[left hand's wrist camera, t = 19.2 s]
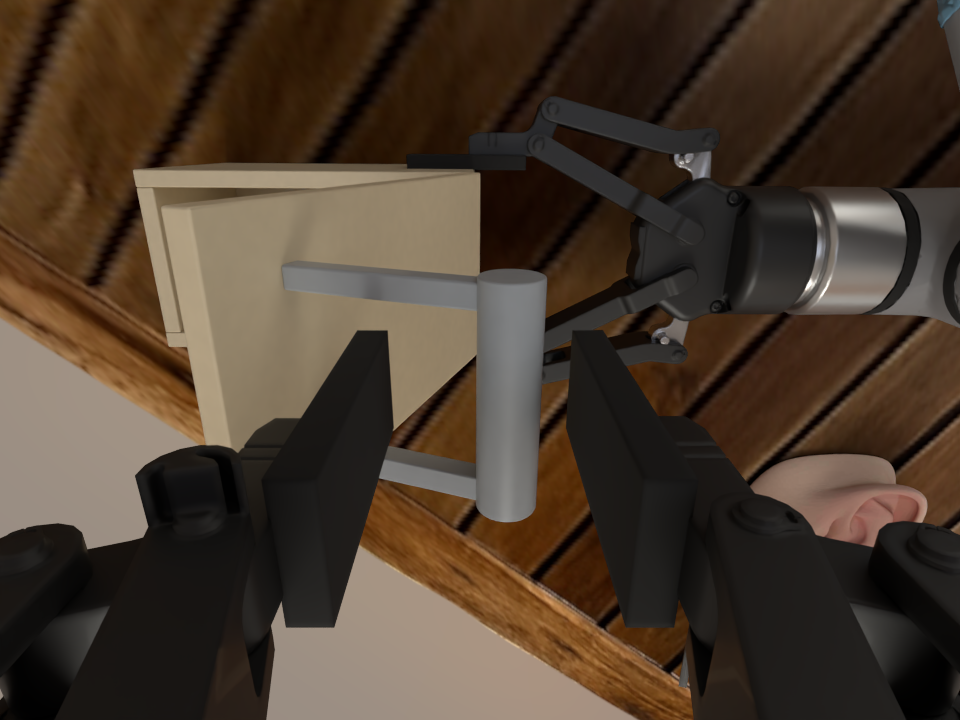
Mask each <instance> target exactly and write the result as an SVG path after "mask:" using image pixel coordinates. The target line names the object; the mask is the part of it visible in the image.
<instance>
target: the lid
mask: <svg viewBox="0 0 960 720" xmlns="http://www.w3.org/2000/svg"><path fill="white" fill-rule="evenodd" d="M161 212H162V217H163V223H164V228H165V233H166V238H167V243H168V249H169V254H170V259H171V264H172V270H173V275H174V280H175V285H176V290H177V296H178V301H179V306H180V311H181V317H182V322H183V327H184V332H185V337H186V343H187V348H188V353H189V358H190V364H191V369H192V374H193V379H194V384H195V390H196V395H197V400H198V405H199V411H200V416H201V421H202V426H203V431H204V437H205V442H206V445H220V446H224V447H229V448H232V449H233V450H235V451H236V452H237V453H239V451H240V450H241V449H242V448H244V445H245V443H246V442H247V441H248V440H249V438H250V437H251V436H252V434H253V433H254V432H255V431H256V430H257V429H259V428H260V427H262V426H264V425H265V424H267V423H268V422H270V421H272V420H273V419H275V418H301V417H302V415H303V414H304V412H305V411H306V409H307V408H308V406H309V405H310V403H311V401H312V400H313V398H314V397H315V395H316V394H317V392H318V391H319V389H320V387H321V386H322V384H323V383H324V381H325V380H326V378H327V377H328V375H329V373H330V372H331V370H332V369H333V367H334V366H335V364H336V363H337V361H338V359H339V358H340V356H341V355H342V353H343V352H344V350H345V349H346V347H347V345H348V344H349V342H350V341H351V339H352V338H353V336H354V335H355V333H356V331H357V330H388V343H389V359H390V374H391V390H392V406H393V421H394V429H393V431H394V430H395V429H396V428H397V427H398V426H399V425H400V424H401V423H402V422H403V421H405V420H406V419H407V418H408V417H409V416H410V415H411V414H412V413H413V412H414V411H415V410H417V409H418V408H419V407H420V406H421V405H422V404H423V403H424V402H425V401H426V400H427V399H429V398H430V397H431V396H432V395H433V394H434V393H435V392H436V391H437V390H438V389H439V388H441V387H442V386H443V385H444V384H445V383H446V382H447V381H448V380H449V379H450V378H451V377H453V376H454V375H455V374H456V373H457V372H458V371H459V370H460V369H461V368H462V367H463V366H465V365H466V364H467V363H468V362H469V361H470V360H471V359H472V358H473V357H474V356H475V355H477V385H476V464H473V463H469V462H464V461H459V460H454V459H449V458H444V457H439V456H434V455H430V454H425V453H420V452H415V451H410V450H405V449H400V448H395V447H390V446H388V449H387V452H386V456H385V459H384V462H383V466H382V469H381V472H380V476H379V478H382V479H386V480H390V481H395V482H399V483H404V484H408V485H412V486H417V487H421V488H426V489H430V490H434V491H439V492H443V493H448V494H452V495H456V496H461V497H465V498H470V499H474V500H476V506H477V508H478V510H479V511H480V512H481V513H482V514H483V515H484V516H486V517H487V518H489V519H492V520H495V521H500V522H514V521H519V520H522V519H525V518H527V517H528V516H529V515H531V514H532V513H533V511H534V509H535V507H536V490H537V470H538V451H539V431H540V411H541V392H542V372H543V352H544V333H545V313H546V293H547V277H546V276H545V275H544V274H542V273H539V272H535V271H530V270H522V269H497V270H490V271H485V272H482V273H480V173H473V172H465V173H455V174H446V175H437V176H428V177H419V178H409V179H400V180H391V181H382V182H373V183H364V184H354V185H345V186H336V187H327V188H318V189H309V190H299V191H290V192H281V193H272V194H263V195H253V196H244V197H235V198H226V199H217V200H208V201H198V202H189V203H180V204H171V205H164V206H162V207H161Z"/></svg>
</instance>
